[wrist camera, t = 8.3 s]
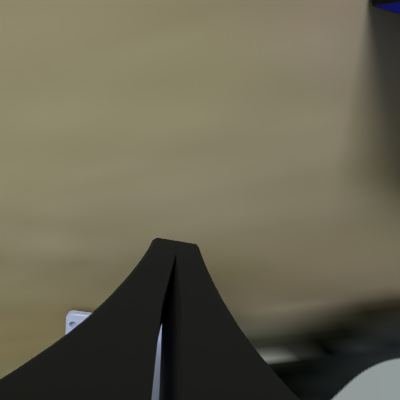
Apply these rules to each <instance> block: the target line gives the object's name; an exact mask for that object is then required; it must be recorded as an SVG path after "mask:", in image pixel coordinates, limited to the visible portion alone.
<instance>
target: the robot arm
mask: <svg viewBox="0 0 400 400" xmlns="http://www.w3.org/2000/svg"><path fill="white" fill-rule="evenodd" d="M73 322H75V323H73ZM0 400H300V399H299V398H298V397H297V396H296V395H295V394H294V393H293V392H292V391H291V390H290V389H289V388H288V387H287V386H286V385H285V384H284V383H283V381H282V380H281V379H280V378H279V377H278V376H277V375H276V373H275V372H274V371H273V370H272V369H271V368H270V367H269V365H268V364H267V363H266V362H265V361H264V360H263V358H262V357H261V356H260V355H259V353H258V352H257V351H256V350H255V348H254V347H253V346H252V344H251V343H250V342H249V340H248V339H247V338H246V336H245V335H244V333H243V332H242V331H241V329H240V328H239V326H238V325H237V323H236V322H235V320H234V318H233V317H232V315H231V314H230V312H229V310H228V309H227V307H226V305H225V304H224V302H223V300H222V298H221V296H220V295H219V293H218V291H217V289H216V287H215V285H214V283H213V281H212V279H211V277H210V275H209V272H208V270H207V268H206V266H205V263H204V261H203V258H202V256H201V253H200V250H199V247H198V246H197V245H196V244H191V243H185V242H179V241H173V240H167V239H161V238H156V239H154V240H153V241H152V243H151V245H150V247H149V249H148V250H147V252H146V254H145V255H144V256H143V258H142V259H141V261H140V262H139V263H138V265H137V266H136V267H135V268H134V270H133V271H132V272H131V273H130V275H129V276H128V277H127V278H126V279H125V281H124V282H123V283H122V284H121V285H120V286H119V287H118V288H117V289H116V290H115V291H114V292H113V294H112V295H111V296H110V297H109V298H108V299H107V300H106V301H105V302H104V303H103V304H101V305H100V306H99V307H98V308H97V309H96V310H95V311H94V312H93V313H90V312H83V311H76V310H72V311H70V312H68V314H67V317H66V335H65V336H64V337H62V338H61V339H60V340H58V341H57V342H56V343H54V344H53V345H52V346H50V347H49V348H47V349H46V350H44V351H43V352H41V353H40V354H38V355H37V356H35V357H34V358H32V359H31V360H29V361H28V362H27V363H25V364H24V365H22V366H21V367H19V368H18V369H16V370H15V371H13V372H11V373H10V374H8V375H7V376H5V377H3V378H2V379H0Z"/></svg>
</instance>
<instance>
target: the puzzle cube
mask: <svg viewBox="0 0 400 400" xmlns="http://www.w3.org/2000/svg"><path fill="white" fill-rule="evenodd" d="M372 3H373V6H376V7H379V8H382V9H386V10H389V11H393V12H396V13H399V14H400V0H372Z"/></svg>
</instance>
